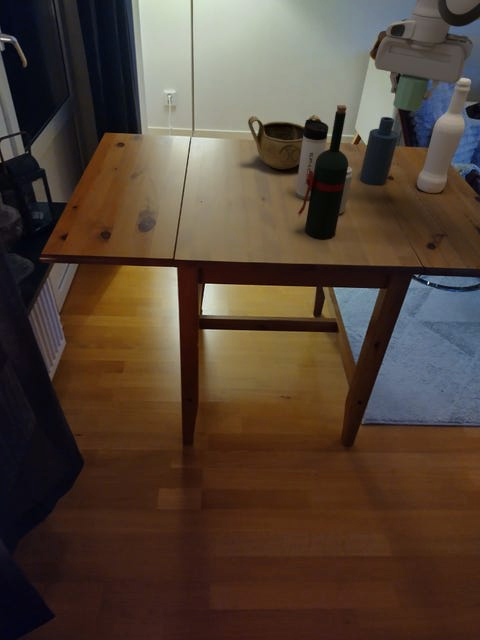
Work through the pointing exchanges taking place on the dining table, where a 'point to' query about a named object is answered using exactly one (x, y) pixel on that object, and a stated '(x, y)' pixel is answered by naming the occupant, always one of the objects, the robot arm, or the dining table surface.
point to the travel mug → (310, 153)
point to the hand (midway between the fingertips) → (409, 95)
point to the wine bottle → (327, 185)
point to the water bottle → (379, 153)
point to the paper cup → (410, 92)
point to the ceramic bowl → (279, 142)
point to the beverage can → (346, 190)
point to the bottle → (444, 141)
